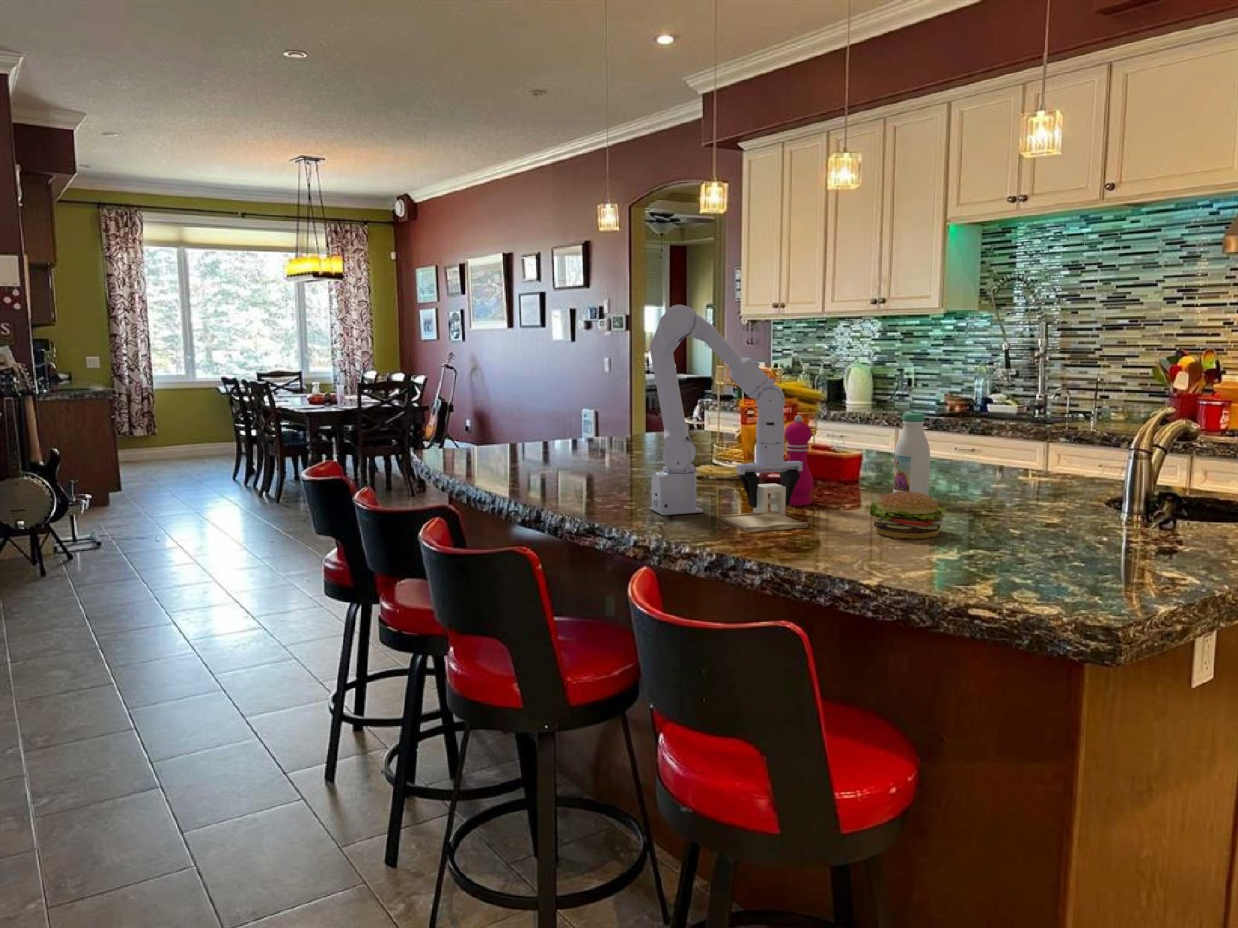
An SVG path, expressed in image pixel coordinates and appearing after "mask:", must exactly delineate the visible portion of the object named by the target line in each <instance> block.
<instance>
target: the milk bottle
mask: <svg viewBox="0 0 1238 928" xmlns="http://www.w3.org/2000/svg"><path fill="white" fill-rule="evenodd" d="M902 424H903V428H902V431H901V434H900V436H899V438H898V440H897V442H896V445H895V449H894V457H893V458H894V459H893V479H892V481H893V484H892V486H893V487H892V489H893V490H892V493H895V492H905V491H906V492H907V491H908V492H918V493H921V494H925V495H928V496H930V478H931V476H930V475H931V474H930V472H931V470H930V469H931V449H930V448H931V447H930V445H929V441H928V439H927V437H926V435H925V434H926V433H925V431H924V424H925V414H923V413H918V412H909V413H908V412H906V413H903V414H902Z"/></svg>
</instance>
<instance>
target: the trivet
mask: <svg viewBox="0 0 1238 928" xmlns="http://www.w3.org/2000/svg"><path fill="white" fill-rule="evenodd" d="M719 519H721V520H720V521H723V522H724V521H726V522H728V523H727V524H729V525H731V526H733V527H735V528H737V529H739V528H740V529H739V530H741V529H742V531H743V530H744V532H746V533H756V532H757V533H758V532H769V531H782V530H783V531H784V530H791V529H792V530H793V528H795V529H805V528H808V522H806V521H804V522H803V521H800V520H797V519H794V518H792V517H789V516H787V515H786V514H785V515H782V514H780V513H779V512H778V511H771V510H770V511H768V512H758V513H754V512H747V513H734V514H722V515H721V514H720V517H719ZM726 522H725V523H726Z"/></svg>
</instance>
